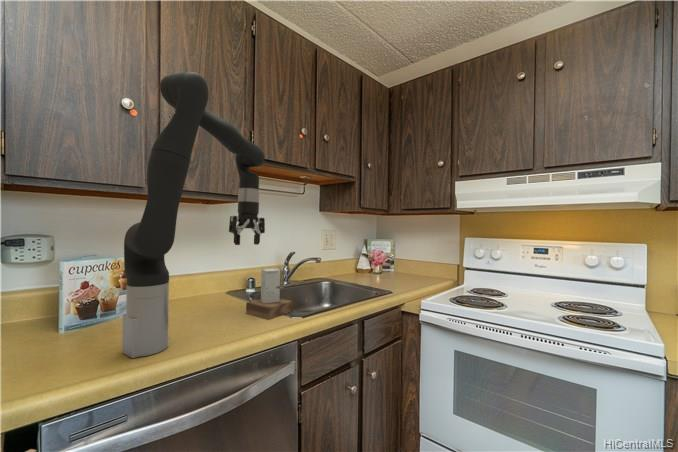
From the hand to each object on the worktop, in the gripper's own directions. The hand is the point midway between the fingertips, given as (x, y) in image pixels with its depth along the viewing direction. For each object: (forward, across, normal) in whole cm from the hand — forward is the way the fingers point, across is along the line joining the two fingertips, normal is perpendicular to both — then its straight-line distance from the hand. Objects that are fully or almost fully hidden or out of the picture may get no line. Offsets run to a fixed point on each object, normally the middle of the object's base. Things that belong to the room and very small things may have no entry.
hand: (247, 244), depth 108 cm
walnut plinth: (+25, +6, -7) cm, 27 cm away
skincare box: (+21, +6, -7) cm, 23 cm away
